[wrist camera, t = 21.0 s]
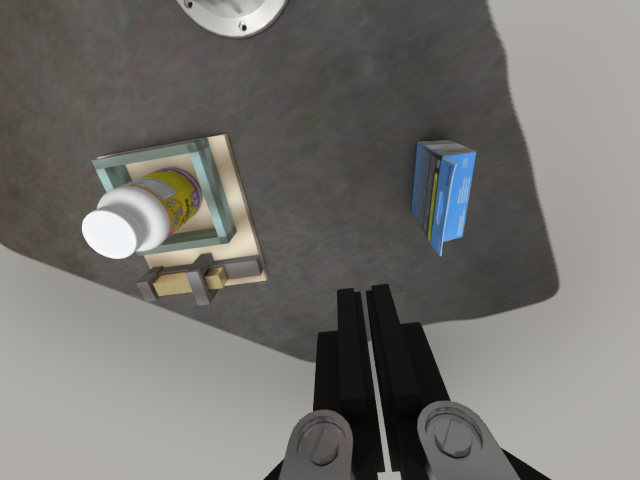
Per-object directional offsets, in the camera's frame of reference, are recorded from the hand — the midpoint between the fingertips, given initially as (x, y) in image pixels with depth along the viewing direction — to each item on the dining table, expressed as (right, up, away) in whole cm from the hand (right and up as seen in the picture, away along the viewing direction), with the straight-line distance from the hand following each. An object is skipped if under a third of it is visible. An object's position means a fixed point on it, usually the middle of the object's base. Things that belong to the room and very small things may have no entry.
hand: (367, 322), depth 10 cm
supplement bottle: (-19, +9, +28) cm, 35 cm away
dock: (-19, +5, +31) cm, 36 cm away
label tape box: (+12, +11, +27) cm, 31 cm away
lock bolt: (-19, -2, +31) cm, 36 cm away
